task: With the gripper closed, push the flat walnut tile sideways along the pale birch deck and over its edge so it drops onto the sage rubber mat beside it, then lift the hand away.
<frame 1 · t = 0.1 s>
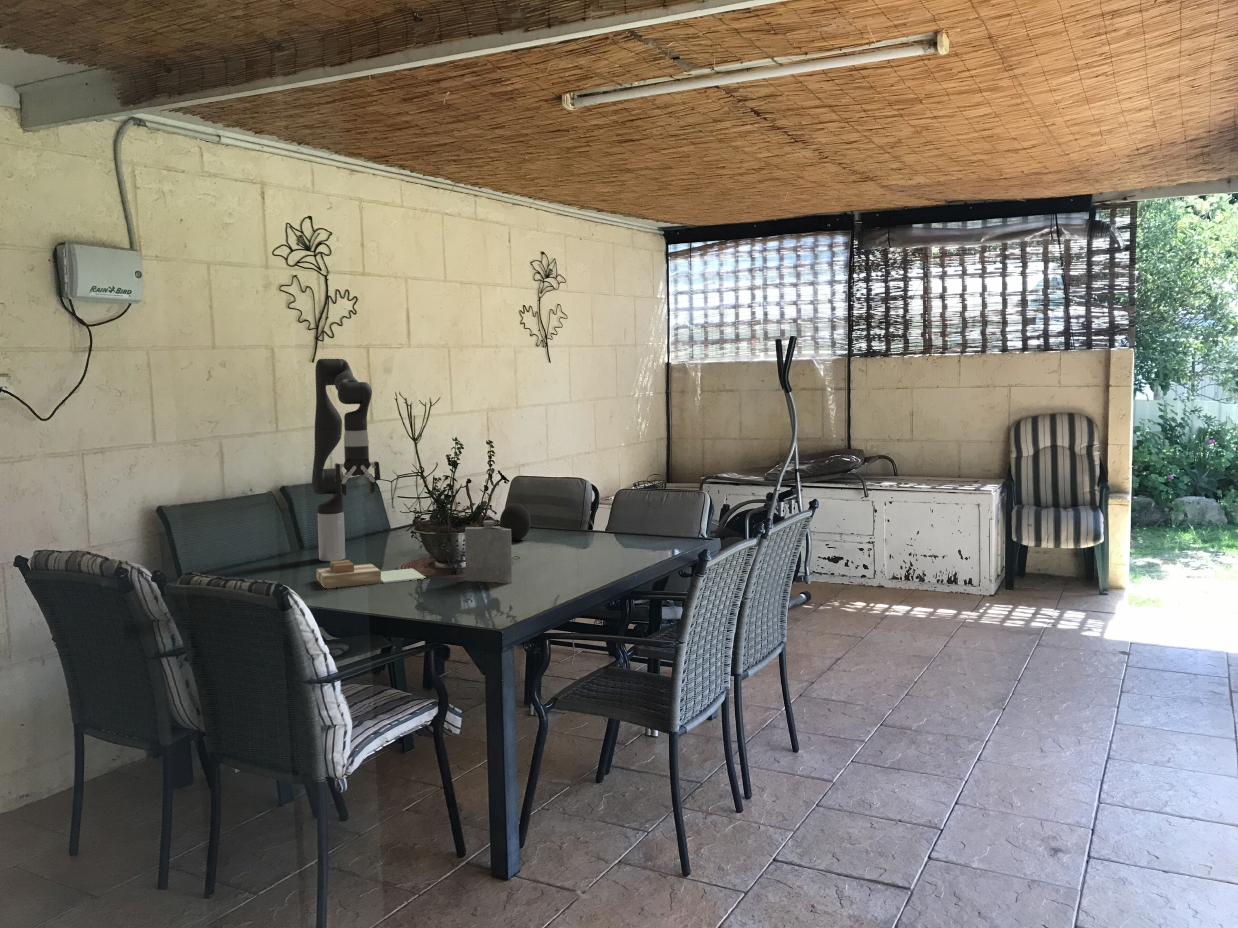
hand: (357, 494, 318), 29 cm above the table, tool pointing down, fingers open, 8 cm apart
hip flask: (489, 581, 323), on the table
walnut tile: (342, 566, 322), point 5 cm above the table, touching birch deck
birch deck: (348, 581, 323), on the table
decorative egg: (515, 541, 397), on the table
sage mat: (398, 576, 331), on the table
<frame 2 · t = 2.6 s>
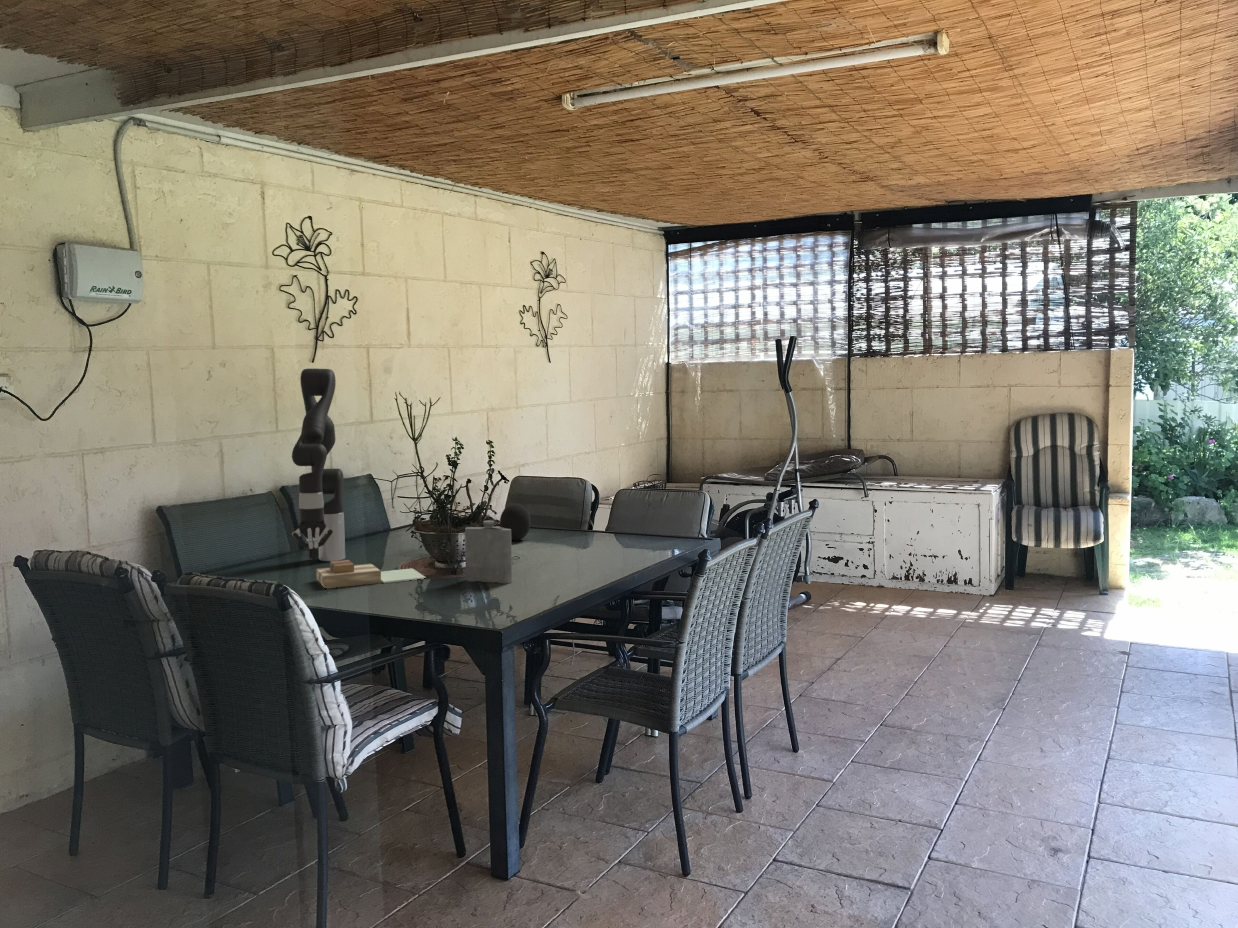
hand: (313, 559, 317), 8 cm above the table, tool pointing down, fingers closed
nothing on the table moved.
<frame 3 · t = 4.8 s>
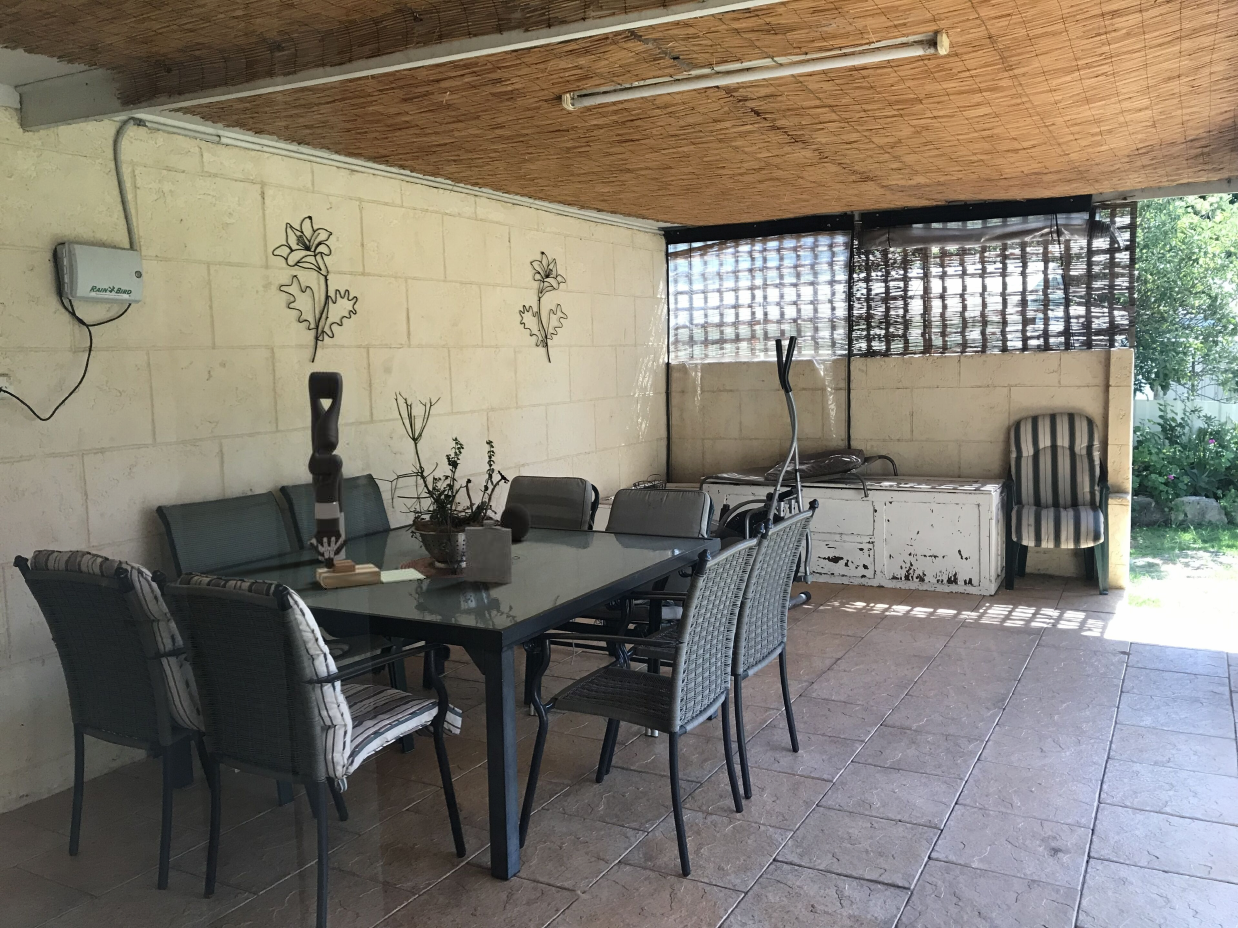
hand: (328, 568, 320), 5 cm above the table, tool pointing down, fingers closed
walnut tile: (343, 566, 322), point 5 cm above the table, touching birch deck, gripper
everything else where it was.
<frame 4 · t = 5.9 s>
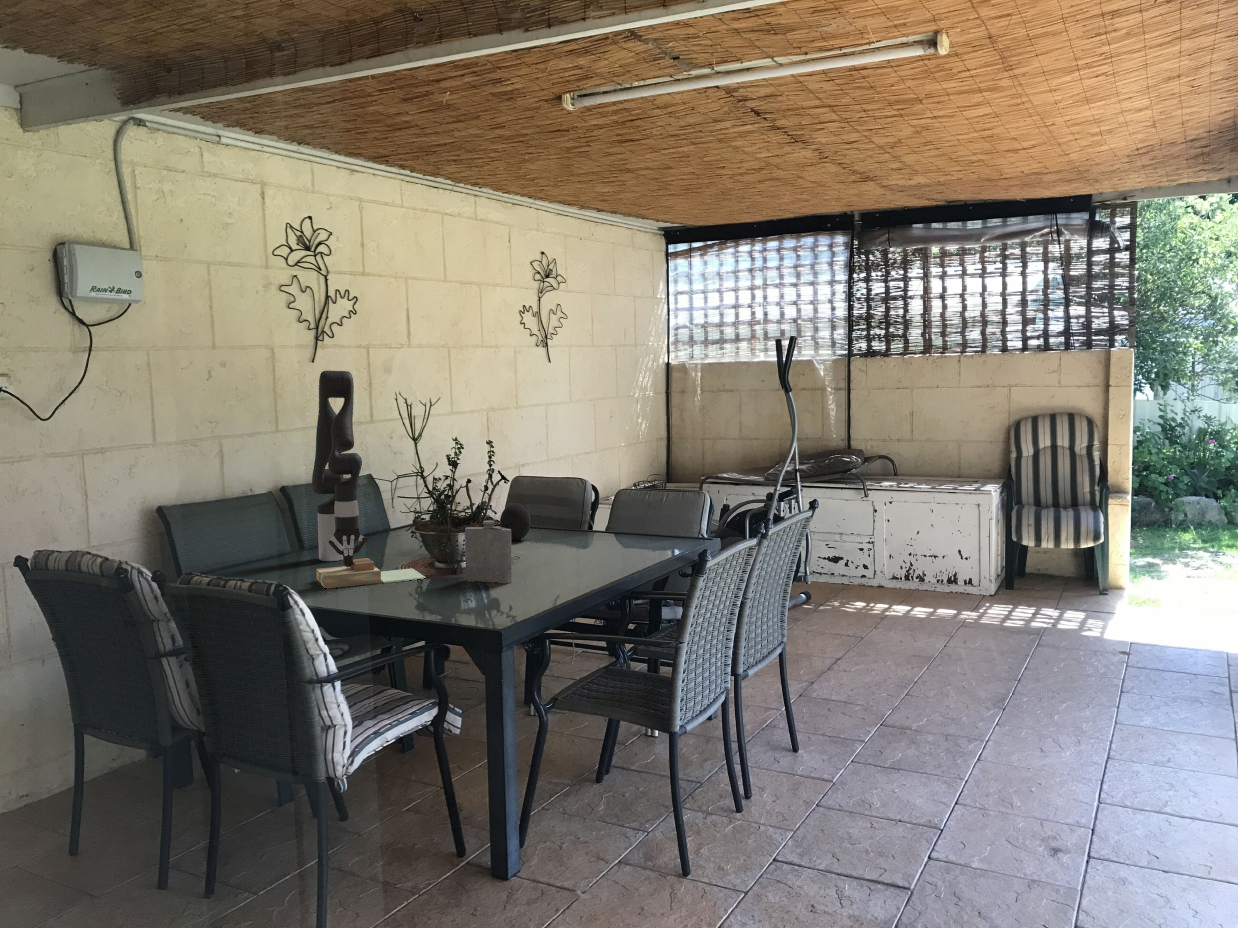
hand: (348, 566, 322), 5 cm above the table, tool pointing down, fingers closed
walnut tile: (362, 564, 325), point 5 cm above the table, touching birch deck, gripper
everything else where it was.
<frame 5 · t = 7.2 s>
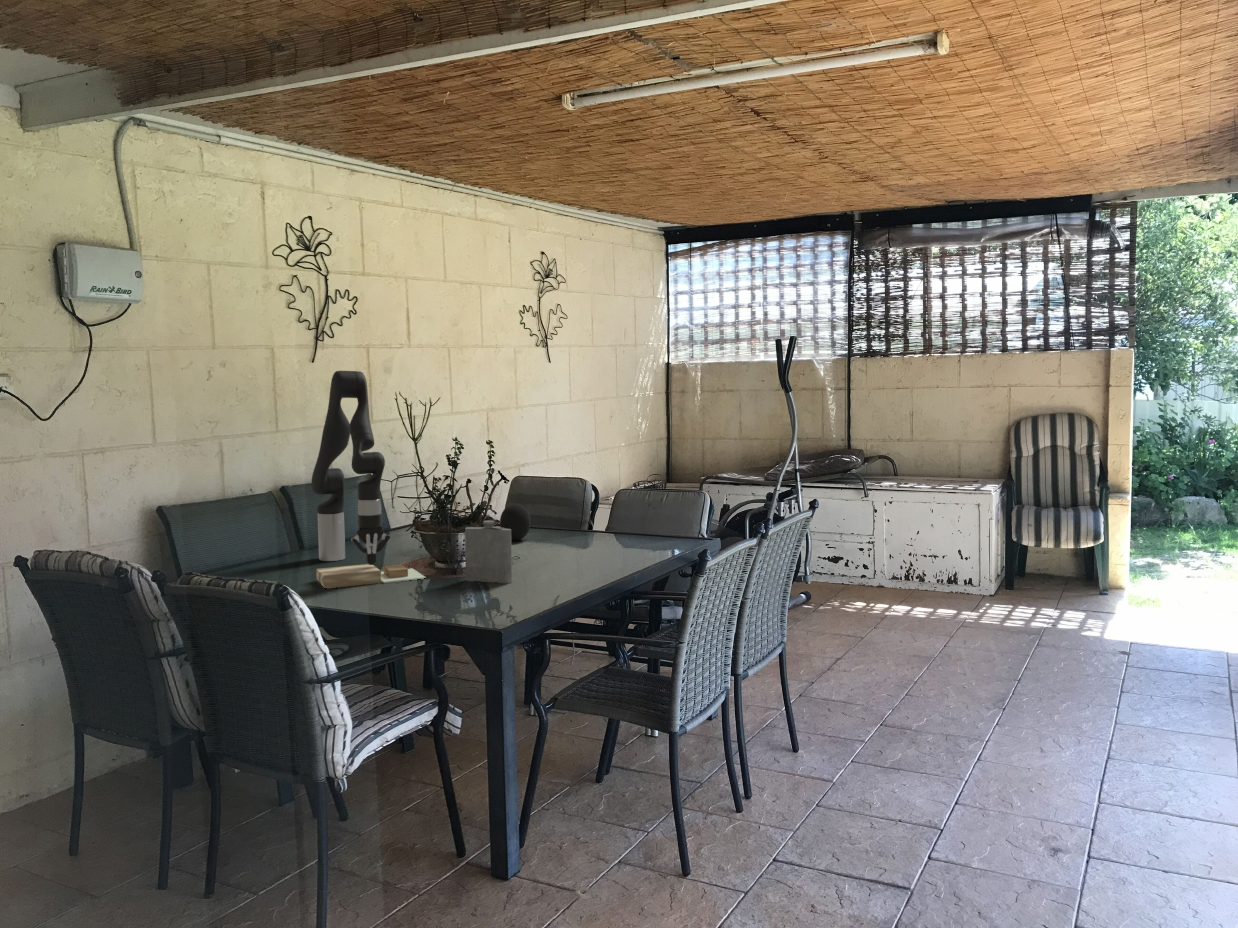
hand: (371, 564, 326), 5 cm above the table, tool pointing down, fingers closed
walnut tile: (395, 571, 330), point 2 cm above the table, tilted 180°, touching sage mat
everything else where it was.
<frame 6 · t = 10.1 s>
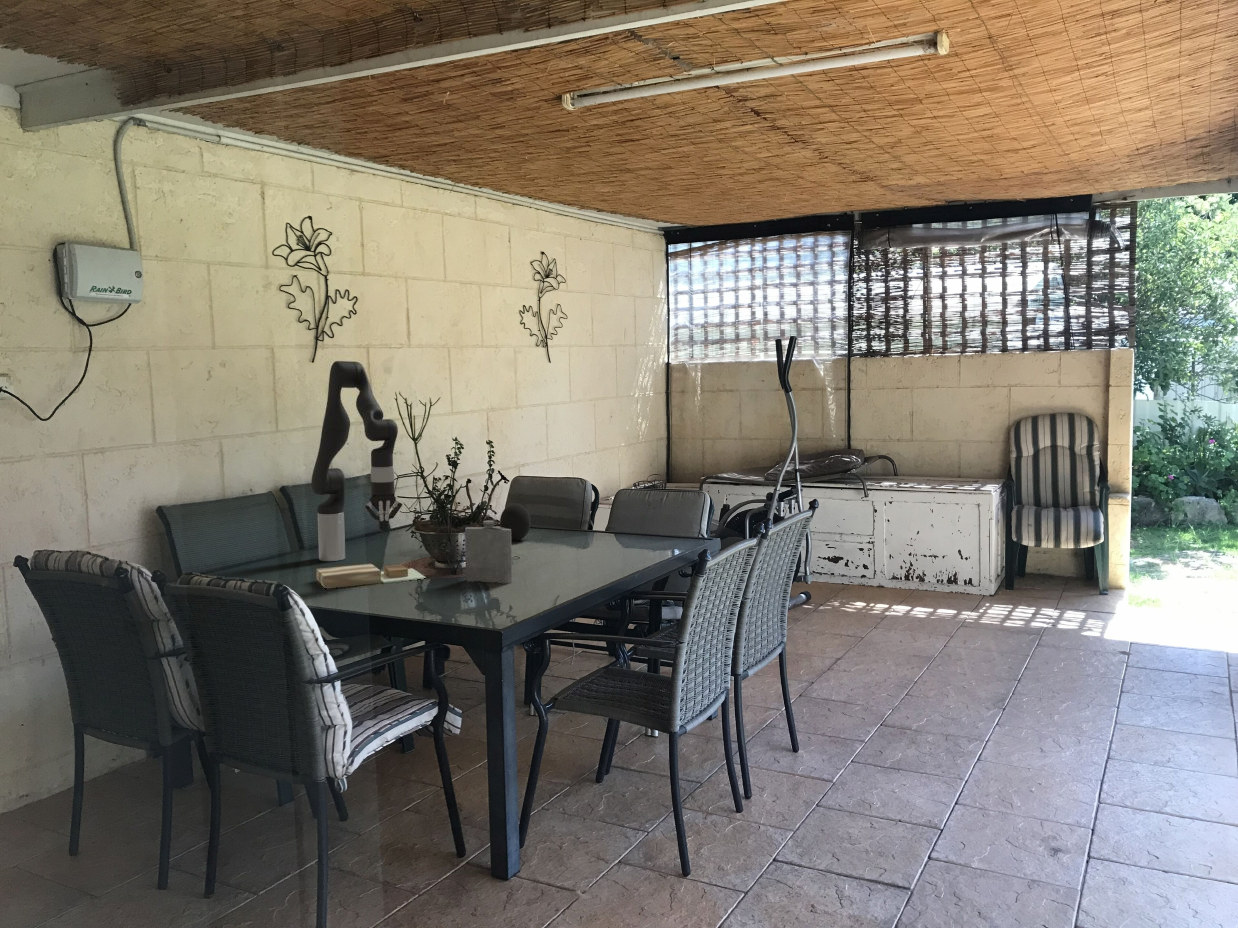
hand: (383, 531, 327), 16 cm above the table, tool pointing down, fingers closed
nothing on the table moved.
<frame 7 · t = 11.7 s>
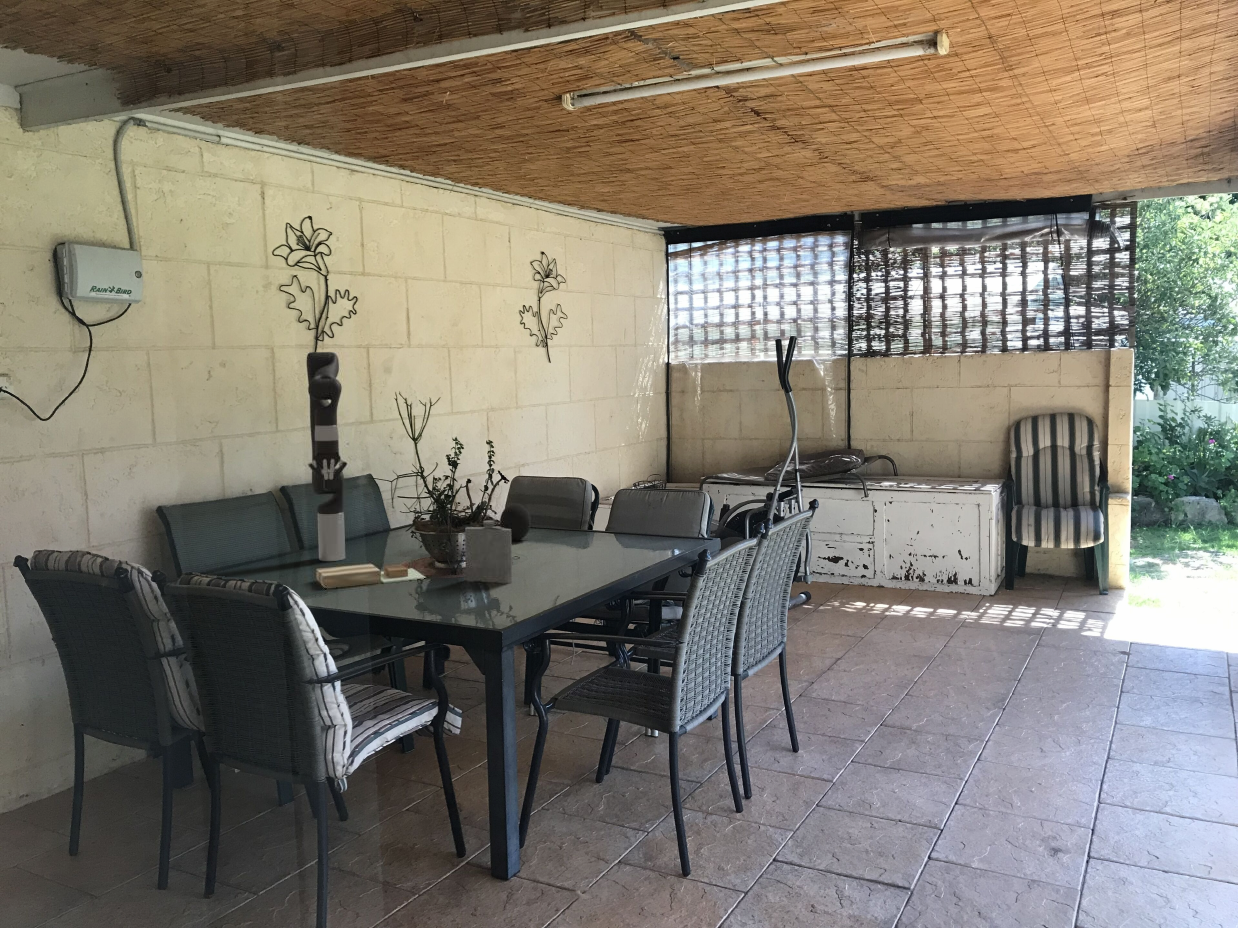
hand: (328, 490, 330), 29 cm above the table, tool pointing down, fingers closed
nothing on the table moved.
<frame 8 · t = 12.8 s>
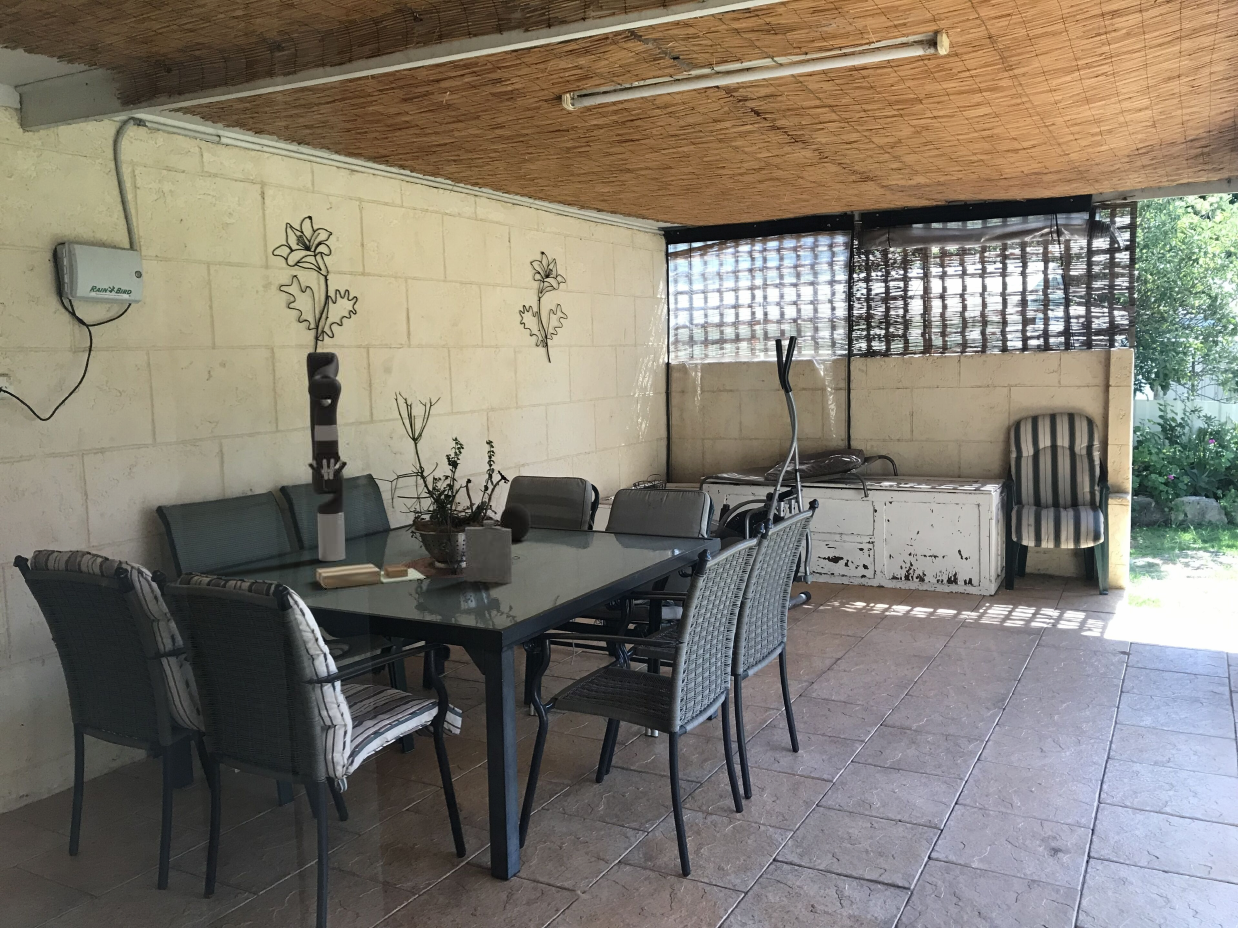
hand: (328, 490, 330), 29 cm above the table, tool pointing down, fingers closed
nothing on the table moved.
at the end: walnut tile inside the target area (1.1 cm from its centre), point 1.8 cm above the table; walnut tile touching sage mat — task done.
